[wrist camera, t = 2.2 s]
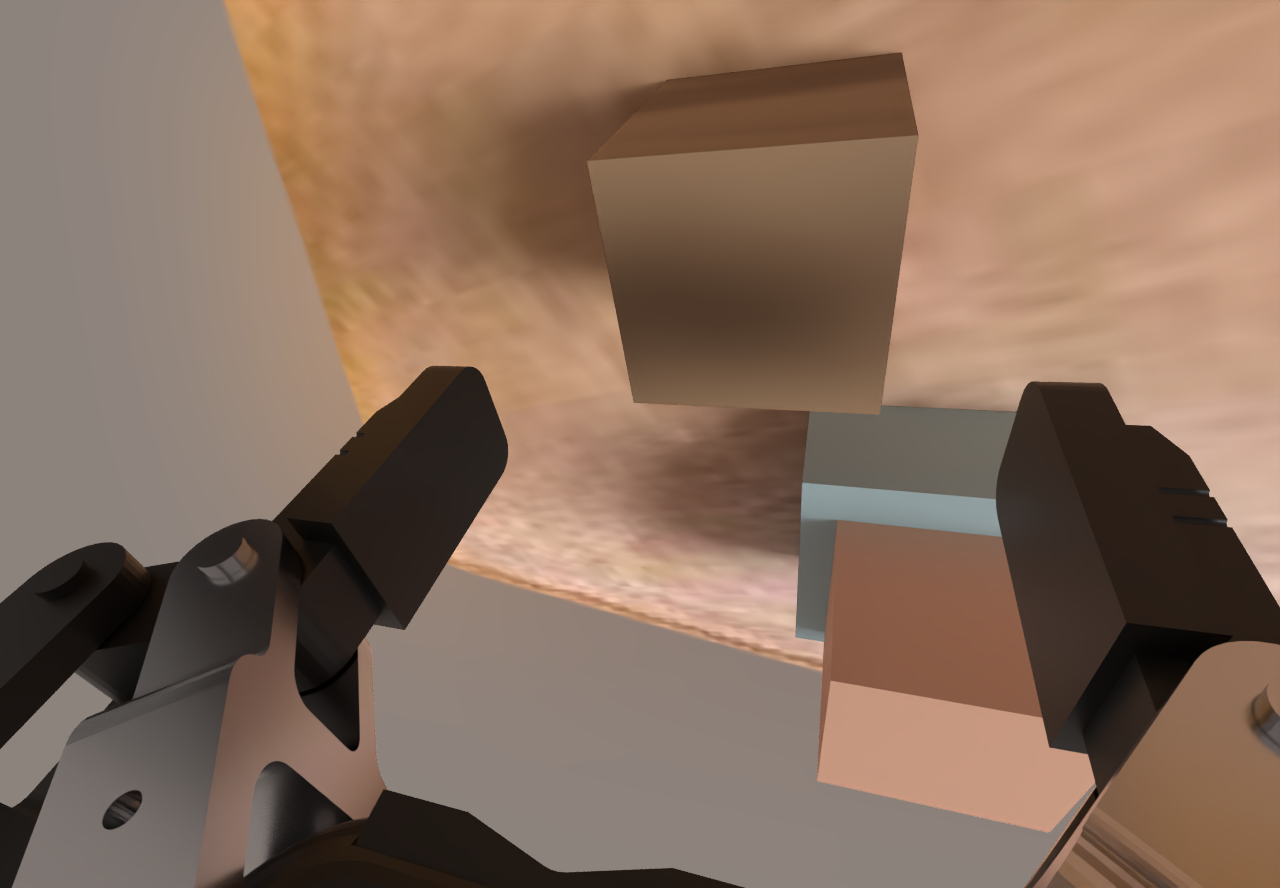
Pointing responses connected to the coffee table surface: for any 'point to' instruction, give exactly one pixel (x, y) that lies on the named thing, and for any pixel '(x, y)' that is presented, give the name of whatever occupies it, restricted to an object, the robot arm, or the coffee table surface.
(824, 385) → the walnut block
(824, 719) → the tower top
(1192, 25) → the coffee table surface
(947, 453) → the tower base
